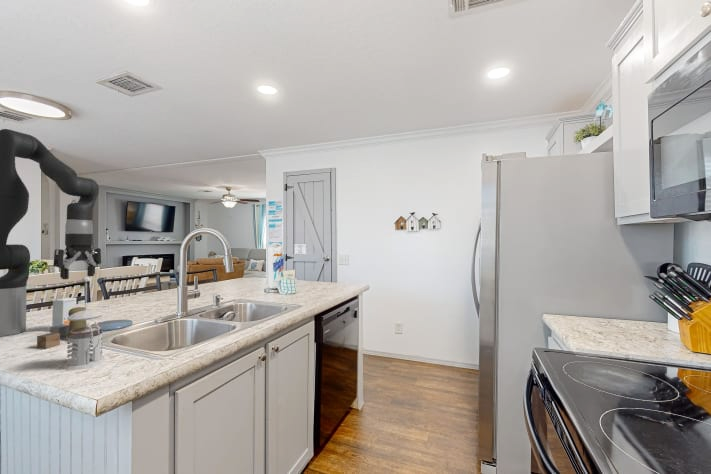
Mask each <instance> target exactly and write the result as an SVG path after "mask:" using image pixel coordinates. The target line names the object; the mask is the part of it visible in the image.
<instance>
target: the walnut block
mask: <svg viewBox="0 0 711 474" xmlns="http://www.w3.org/2000/svg"><path fill="white" fill-rule="evenodd" d="M60 345H61V338H60V333H50V332H47V333H44V334H40V335H37V336H36V348H37V349H44V350H47V349H50V348H55V347H58V346H60Z"/></svg>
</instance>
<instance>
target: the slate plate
mask: <svg viewBox="0 0 711 474" xmlns="http://www.w3.org/2000/svg"><path fill="white" fill-rule="evenodd" d="M96 323H97V324H98V326H99V327H101V329H100V330H99V331H101V332H110V331H116V330H117V331H118V330H122V329H126V328H129V327H131V326H132V325H133V320H130V319H113V320H105V321H99V322H96ZM94 324H95V323H94ZM94 324H90V325H91V327H92V326H94ZM97 324H96V325H95V326H97ZM88 326H89V325H88ZM89 327H90V326H89Z"/></svg>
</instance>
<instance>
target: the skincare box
mask: <svg viewBox="0 0 711 474" xmlns="http://www.w3.org/2000/svg"><path fill="white" fill-rule="evenodd" d="M77 299H78V298H77V297H63V298H58V299H54V300H52V319H51V320H52V322H51V323H52V325H51V327H52V326H56V325H61V324H68V325H69V323H70V320H68V319H67V317H69V315H68V313H69V310H70V309H72V308H76V307H77Z"/></svg>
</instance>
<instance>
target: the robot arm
mask: <svg viewBox="0 0 711 474" xmlns="http://www.w3.org/2000/svg"><path fill="white" fill-rule="evenodd" d="M16 158H20V159H27V160H31V161H33V162H36V163H38V165H39V169H40V171H41V172H42V174H44V175H45V176H46V177H48V178H49V179H50V180H52V181H53V182H54V183H55V184H56V185H57V186H58V188H59V189H60V191H61V192H62V193H64V194H66V195H68V196H73V197H79V199H78V201H77V202H71V203H69V204H67V207H66V220H65V221H66V222H65V227H64V228H65V230H64V231H65V232H64V233H65V235H64V245H65V249H60V248H58V249H54V254H53V265H52V266H53V268H54V267H55V268H59V269H60V270H59V271H60V273H59V276H60V278H61V279H62V280H69V277H70V276H69V275H70V272H69V271H70V268H69V267H70V266H71V265H72V264H73V263H74V262H81V261H82V262H85V263H86V264H87V271H86V272H87V277H94V275H95V274H96V266H97V265H100V264H102V255H101V254H102V253H101V251H102V249H101V248H99V247H94V248H92V246H93V244H94V243H93V240H94V239H93V237H94V236H93V235H94V224H93V209H94V206H95V203H96V201H97V199H98V196H99V191H100V188H99V185H98V182H97V181H96V180H94V179H93V178H88V177H83V176H78V173H77V172H76V171H75V170H74V168H71V167H70V166H69V165H68V164H66V163H65V162H63V161H61V160H60V159H59V158H57V157H56V156H55V155H54V154H53V153H52V151H50V150H49V149H48V148H47V147H46V146H45V145H44V144H43V143H42V142H41V141H40V140H39V139H38V138H36V137H35V136H34V135H31V134H28V133H23V132H20V131H17V130H13V129H7V128H2V129H0V271H1V270H7V272H6V273H5V274H4V275H1V276H0V337H4V336H5V337H6V336H11V335H16V334H21V333H24V332H26V331H27V285H28V284H27V282H28V280H29V275H30V265H31V254H30V250H29V248H28V247H27V246H26V245H24V244H7V243H8V238H9V235H10V233H11V231H12V230H13V228H14V227H15V226H16V225H17V224H18V223H19V222H20V221H21V220H22V219H23V218H24V217H25V216H26V214H27V212H28V210H29V201H30V193H29V190H28V188H27V186H26V184H25V183H24V182H23V179H21V177H20V175H19V174H18V171H17V167H16ZM91 254H92V255H91Z"/></svg>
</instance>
